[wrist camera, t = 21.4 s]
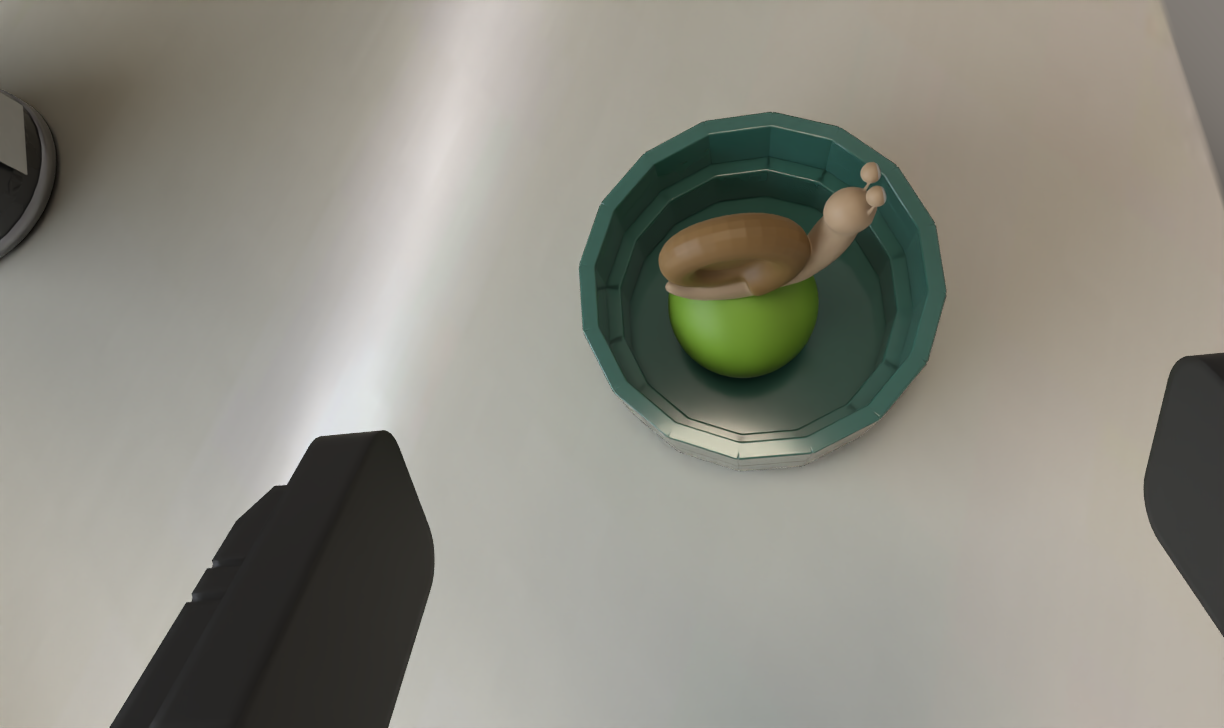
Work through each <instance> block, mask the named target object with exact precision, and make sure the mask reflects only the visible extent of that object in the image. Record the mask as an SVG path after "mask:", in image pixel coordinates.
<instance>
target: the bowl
mask: <svg viewBox="0 0 1224 728" xmlns="http://www.w3.org/2000/svg"><path fill="white" fill-rule="evenodd" d="M869 162H874V163H877V164H878V166H879V167H880V170H881V177H880V179H879V180H878V181H877V182H875V183H870V185H869V187H868V188H867V191H868V190H869V189H870V188H871V187H873V186H881V187H883V188H884V190H885V192H886V202H885V203H884V204H883V205H882V206H880V207H877V211H876V214H875V216H874V218H873V221H872V223H871V224H870V225H869V226H868V227H867V228H866V229H864V230H862V231H861V232H859V233H858V234H857V235H856V237H855V239H854V240H853V242H852V243H851V245H850V246H849V247H848V248H847V249H846V250H845V251H844V252H843V253H842V254H841V255H840V256H839V257H838V258H837V259H836V260H835V261H833V262H832V263H831V264H830V265H828V266H827V267H825V268H824V269H822V270H821V271H819V272H818V273H816V274H815V275H813V276H814V279H815V282H816V285H817V290H818V299H819V305H818V315H817V320H816V324H815V327H814V330H813V332H812V334H811V336H810V338H809V340H808V342H807V343H806V345H805V346H804V347H803V349H802V350H801V351H800V352H799V354H798V355H797V356H796V357H795V358H793V359H792V360H791V361H790V362H789V363H787V364H786V365H784V366H783V367H781V368H779V369H777V370H775V371H773V372H771V373H768V374H765V375H762V376H757V377H751V378H734V377H728V376H723V375H720V374H717V373H714V372H712V371H710V370H708V369H706V368H704V367H703V366H701V365H700V364H698V363H697V362H696V361H694V360H693V359H692V358H691V357H690V356H689V355H688V354H687V353H686V352H685V351H684V349H683V348H682V347H681V345H680V344H679V342H678V340H677V338H676V336H675V334H674V332H673V329H672V326H671V323H670V318H669V312H668V297H669V292H668V291H667V290H666V288H665V286H666V284H667V282H668V280H667V279H666V278H665V277H664V276H663V274H662V273H661V270H660V267H659V254H660V252H661V250H662V248H663V246H664V244H665V243H666V242H667V241H668V240H669V239H670V238H671V237H672V236H674V235H675V234H677V233H678V232H679V231H681V230H683V229H685V228H687V227H689V226H691V225H694V224H696V223H699V222H702V221H705V220H708V219H712V218H716V217H721V216H725V215H732V214H739V213H768V214H775V215H779V216H782V217H786V218H789V219H791V220H792V221H794V222H796V223H797V224H798V225H799V226H801V227H802V229H803V230H804V231H805V233H806V235H808V234H809V232H810V231H811V229H812V228H813V227H814V225H815V224H816V223H817V222H818V221H819V220H820V219H821V218H822V217H823V210H824V206H825V204H826V202H827V200H828V199H829V198H830V197H831V196H832V195H833V194H834V193H835V192H837V191H838V190H840V189H843V188H847V187H859V188H864V187H865V186H866V184H867V183H866V182H864V181H863V180H862V178H861V175H860V172H861V169H862V167H863V166H864V165H865V164H867V163H869ZM579 265H580V266H579V277H580V294H581V310H582V326H583V331H584V335H585V337H586V339H587V341H588V343H589V345H590V347H591V349H592V351H593V353H594V355H595V357H596V359H597V361H598V363H599V365H600V367H601V369H602V371H603V373H604V375H605V377H606V379H607V381H608V383H609V385H610V387H611V389H612V391H613V392H614V393H615V394H616V395H617V397H618V398H619V399H620V400H621V401H622V402H623V403H624V404H625V405H626V406H627V408H628V409H629V410H630V411H631V412H632V413H633V414H634V415H635V416H636V417H637V418H639V419H640V420H641V421H642V422H643V423H645V424H646V425H647V426H648V427H649V428H650V429H652V430H653V431H654V432H655V433H656V434H658V435H659V436H660V437H661V438H662V439H663V440H665V441H666V442H667V443H668V444H669V445H671V446H672V447H673V448H674V449H675V450H677V451H679V452H680V453H683V454H686V455H689V456H692V457H695V458H698V459H701V460H705V461H708V462H711V463H714V464H717V465H720V466H723V467H727V468H730V469H733V470H736V471H751V470H763V469H776V468H788V467H801V466H805V465H807V464H809V463H811V462H813V461H815V460H816V459H818V458H820V457H822V456H824V455H826V454H828V453H830V452H832V451H834V450H836V449H838V448H840V447H842V446H844V445H846V444H848V443H850V442H852V441H854V440H856V439H858V438H859V437H860V436H862V435H863V434H864V433H865V432H866V431H868V430H869V429H870V428H871V427H872V426H873V425H874V424H875V423H877V422H878V421H879V420H880V419H881V418H882V417H883V416H884V415H885V414H886V412H887V411H888V410H889V409H890V408H891V406H892V405H893V404H894V403H895V401H896V400H897V399H898V398H899V397H900V395H901V394H902V393H903V392H904V391H905V389H906V388H907V387H908V386H909V385H910V383H911V382H912V381H913V380H914V379H915V377H916V376H917V375H918V374H919V373H920V371H921V370H922V369H923V368H924V367H925V365H926V363H927V361H928V360H929V356H930V353H931V349H932V345H933V342H934V338H935V335H936V331H937V327H938V324H939V320H940V317H941V313H942V309H943V306H944V302H945V299H946V285H945V279H944V272H943V266H942V260H941V254H940V247H939V241H938V235H937V229H936V225H935V222H934V221H933V219H932V218H931V216H930V215H929V213H928V212H927V210H926V208H925V207H924V205H923V204H922V202H921V201H920V199H919V198H918V196H917V195H916V193H915V192H914V190H913V189H912V187H911V185H910V184H909V182H908V181H907V179H906V178H905V176H904V175H903V173H902V172H901V170H900V169H899V167H897V165H896V164H894V163H893V162H891V161H890V160H888V159H887V158H885V157H884V156H882V155H881V154H879V153H878V152H876V151H875V150H873V149H872V148H871V147H869V146H868V145H866V144H865V143H863V142H862V141H860V140H859V139H857V138H856V137H854V136H853V135H851V134H850V133H848V132H847V131H845V130H844V129H842V128H839V127H838V126H834V125H830V124H825V123H821V122H816V121H812V120H807V119H803V118H798V117H794V116H790V115H785V114H781V113H776V112H773V113H772V112H766V113H759V114H752V115H744V116H737V117H730V118H723V119H715V120H708V121H705V122H701V123H699V124H698V125H696V126H694V127H692V128H690V129H688V130H686V131H684V132H683V133H681V134H679V135H677V136H675V137H673V138H671V139H670V140H668V141H666V142H664V143H662V144H660V145H658V146H656V147H655V148H653V149H651V150H649V151H647V152H646V153H645V154H643V155H642V156H641V157H640V159H639V160H638V161H637V162H636V163H635V164H634V166H633V167H632V168H631V169H630V170H629V171H628V172H627V174H626V175H625V176H624V177H623V178H622V179H621V180H620V182H619V183H618V184H617V185H616V186H615V187H614V189H613V190H612V191H611V192H610V193H609V194H608V195H607V197H606V198H605V199H604V200H603V201H602V203H601V204H600V206H599V209H598V212H597V215H596V218H595V221H594V223H593V226H592V229H591V232H590V235H589V238H588V241H587V244H586V246H585V249H584V252H583V255H582V258H581V261H580V264H579Z"/></svg>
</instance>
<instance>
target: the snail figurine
mask: <svg viewBox="0 0 1224 728" xmlns="http://www.w3.org/2000/svg"><path fill="white" fill-rule="evenodd" d="M860 175H861V178H862V180H863V181H864V182H866V183H867V184H866V186H865V187H864V188H859V187H847V188H843V189H840V190H838V191H837V192H835V193H834V194H833V195H832V196H831V197H830V198H829V199H828V200H827V202H826V204H825V206H824V210H823V217H822V218H821V219H820V220H819V221H818V222H817V223H816V224H815V225H814V227H813V228H812V229H811V231H810V232H809V234H808V235H806V233H805V231H804V230H803V229H802V227H801V226H799V225H798V224H797V223H796V222H794V221H792V220H791V219H789V218H786V217H782V216H779V215H775V214H768V213H739V214H732V215H725V216H721V217H716V218H712V219H708V220H705V221H702V222H699V223H696V224H694V225H691V226H689V227H687V228H685V229H683V230H681V231H679V232H678V233H677V234H675V235H674V236H672V237H671V238H670V239H669V240H668V241H667V242H666V243H665V244H664V246H663V248H662V250H661V252H660V254H659V267H660V270H661V273H662V274H663V276H664V277H665V278H666V279H667V280H668V282H667V284H666V286H665V288H666V290H667V291H668V292H669V297H668V312H669V318H670V323H671V326H672V329H673V332H674V334H675V336H676V338H677V340H678V342H679V344H680V345H681V347H682V348H683V349H684V351H685V352H686V353H687V354H688V355H689V356H690V357H691V358H692V359H693V360H694V361H696V362H697V363H698V364H700V365H701V366H703V367H704V368H706V369H708V370H710V371H712V372H714V373H717V374H720V375H723V376H728V377H734V378H751V377H757V376H762V375H765V374H768V373H771V372H773V371H775V370H777V369H779V368H781V367H783V366H784V365H786V364H787V363H789V362H790V361H791V360H792V359H793V358H795V357H796V356H797V355H798V354H799V352H800V351H801V350H802V349H803V347H804V346H805V345H806V343H807V342H808V340H809V338H810V336H811V334H812V332H813V330H814V327H815V324H816V320H817V315H818V305H819V299H818V290H817V285H816V282H815V279H814V276H813V275H815V274H816V273H818V272H819V271H821V270H822V269H824V268H825V267H827V266H828V265H830V264H831V263H832V262H833V261H835V260H836V259H837V258H838V257H839V256H840V255H841V254H842V253H843V252H844V251H845V250H846V249H847V248H848V247H849V246H850V245H851V243H852V242H853V240H854V239H855V237H856V235H857V234H858V233H859V232H861V231H862V230H864V229H866V228H867V227H868V226H869V225H870V224H871V223H872V221H873V218H874V216H875V214H876V211H877V207H880V206H882V205H883V204H884V203H885V202H886V192H885V190H884V188H883V187H881V186H873V187H871V188H870V189H869V190H868V191H867V188H868V187H869V185H870V183H875V182H877V181H878V180H879V179H880V177H881V170H880V167H879V166H878V164H877V163H874V162H869V163H867V164H865V165H864V166H863V167H862V169H861V172H860Z"/></svg>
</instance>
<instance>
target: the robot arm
mask: <svg viewBox="0 0 1224 728" xmlns="http://www.w3.org/2000/svg"><path fill="white" fill-rule="evenodd" d="M55 172H56V151H55V145H54V141H53V138H52V135H51V132H50V130H49V128H48V126H47V124H46V122H45V121H44V119H43V118H42V117H41V115H40V114H39V113H38V112H37V111H36V110H35V109H34V108H32V107H31V106H30V105H28V104H27V103H25V102H24V101H22V100H20V99H19V98H17V97H15V96H14V95H12V94H10V93H8V92H6V91H3V90H0V258H1V257H2V256H4V255H5V254H6V253H8V252H9V251H11V250H12V249H13V248H14V247H15V246H16V245H18V244H19V243H20V242H21V241H22V240H23V239H24V238H25V236H26V235H27V234H28V233H29V232H30V230H31V229H32V228H33V226H34V225H35V224H36V222H37V221H38V219H39V217H40V216H41V214H42V212H43V210H44V208H45V206H46V204H47V202H48V199H49V197H50V194H51V191H52V188H53V183H54V179H55ZM1144 500H1145V507H1146V511H1147V515H1148V519H1149V522H1150V524H1151V527H1152V529H1153V531H1154V533H1155V536H1156V537H1157V539H1158V541H1159V542H1160V544H1161V545H1162V547H1163V548H1164V550H1165V551H1166V553H1167V554H1168V556H1169V557H1170V558H1171V560H1172V561H1173V563H1174V564H1175V566H1176V567H1177V569H1178V570H1179V572H1180V573H1181V575H1182V576H1183V578H1184V579H1185V581H1186V582H1187V584H1188V585H1189V587H1190V588H1191V590H1192V591H1193V593H1194V594H1195V595H1196V597H1197V598H1198V600H1199V601H1200V603H1201V604H1202V606H1203V607H1204V609H1205V610H1206V612H1207V613H1208V615H1209V616H1210V618H1211V619H1212V621H1213V622H1214V624H1215V625H1216V627H1217V628H1218V629H1219V631H1220V632H1221V634H1222V635H1223V637H1224V353H1216V354H1205V355H1194V356H1185V357H1183V358H1181V359H1180V360H1178V361H1177V362H1176V363H1175V365H1174V366H1173V368H1172V370H1171V372H1170V375H1169V378H1168V382H1167V386H1166V390H1165V394H1164V398H1163V402H1162V406H1161V411H1160V415H1159V419H1158V423H1157V427H1156V431H1155V435H1154V439H1153V444H1152V448H1151V452H1150V456H1149V460H1148V464H1147V468H1146V472H1145V478H1144ZM212 562H213V567H212V568H207V570H206V571H205V573H204V574H203V576H202V578H201V579H200V581H199V583H198V584H197V586H196V588H195V589H194V591H193V592H192V597H193V598H192V602H186V604H185V605H184V607H183V609H182V610H181V612H180V614H179V615H178V617H177V618H176V620H175V622H174V623H173V625H172V627H171V628H170V630H169V632H168V633H167V635H166V636H165V638H164V640H163V641H162V643H161V645H160V646H159V648H158V649H157V651H156V653H155V654H154V656H153V658H152V659H151V661H150V662H149V664H148V666H147V667H146V669H145V671H144V672H143V674H142V676H141V677H140V679H139V680H138V682H137V684H136V685H135V687H134V689H133V690H132V692H131V693H130V695H129V697H128V698H127V700H126V702H125V703H124V705H123V706H122V708H121V710H120V711H119V713H118V715H117V716H116V718H115V720H114V721H113V723H112V724H111V726H110V728H388V726H389V723H390V720H391V716H392V713H393V710H394V707H395V703H396V700H397V697H398V694H399V690H400V687H401V684H402V681H403V677H404V674H405V671H406V668H407V664H408V661H409V658H410V655H411V651H412V648H413V645H414V642H415V638H416V635H417V632H418V629H419V625H420V622H421V619H422V616H423V613H424V609H425V606H426V603H427V600H428V596H429V593H430V590H431V586H432V582H433V576H434V545H433V539H432V534H431V531H430V528H429V525H428V522H427V520H426V517H425V514H424V512H423V509H422V506H421V504H420V501H419V499H418V496H417V493H416V491H415V488H414V485H413V483H412V480H411V477H410V475H409V472H408V469H407V467H406V464H405V461H404V459H403V456H402V454H401V451H400V448H399V446H398V444H397V442H396V440H395V438H394V437H393V436H392V434H391V433H389V432H388V431H385V430H382V431H371V432H361V433H350V434H340V435H329V436H320V437H318V438H316V439H315V440H314V441H313V442H312V443H311V444H310V446H309V447H308V449H307V451H306V453H305V454H304V456H303V458H302V460H301V461H300V463H299V465H298V467H297V468H296V470H295V472H294V474H293V475H292V477H291V479H290V481H289V482H288V484H287V485H283V486H274V487H273V488H272V489H271V490H270V491H269V492H268V493H266V494H265V495H264V496H263V497H262V498H261V499H260V500H259V501H258V502H257V503H255V504H254V505H253V506H252V507H251V508H250V509H249V510H248V511H247V512H246V513H245V514H243V515H242V516H241V517H240V518H239V519H238V520H237V521H236V522H235V524H234V526H233V527H232V529H231V530H230V532H229V534H228V535H227V537H226V539H225V540H224V542H223V543H222V545H221V547H220V548H219V550H218V552H217V553H216V555H215V557H214V558H213V560H212Z"/></svg>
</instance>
